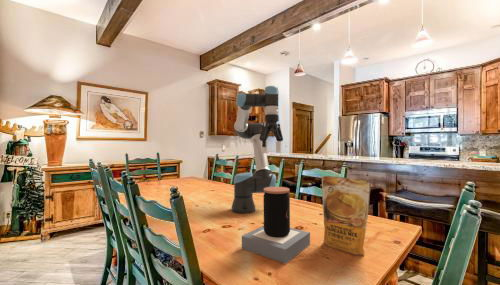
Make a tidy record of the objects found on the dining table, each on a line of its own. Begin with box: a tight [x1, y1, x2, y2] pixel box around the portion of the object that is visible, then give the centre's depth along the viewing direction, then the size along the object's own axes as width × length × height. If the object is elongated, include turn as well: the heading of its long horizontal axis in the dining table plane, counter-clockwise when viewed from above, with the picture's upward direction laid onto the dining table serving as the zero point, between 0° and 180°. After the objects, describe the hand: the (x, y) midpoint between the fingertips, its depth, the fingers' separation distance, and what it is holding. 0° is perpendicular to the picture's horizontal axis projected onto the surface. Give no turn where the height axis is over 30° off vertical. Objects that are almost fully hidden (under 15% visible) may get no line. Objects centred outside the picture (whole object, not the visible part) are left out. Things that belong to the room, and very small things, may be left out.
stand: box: [241, 225, 311, 265], centre depth 96 cm, size 20×20×5 cm
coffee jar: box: [262, 186, 291, 237], centre depth 97 cm, size 11×11×18 cm
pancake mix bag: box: [320, 175, 372, 256], centre depth 95 cm, size 7×19×28 cm, turn 45°
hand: (272, 153), depth 131 cm, fingers open, 13 cm apart
